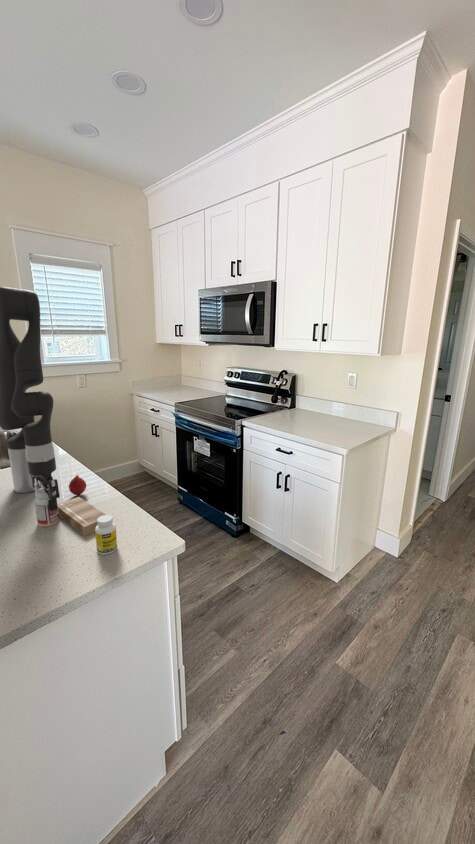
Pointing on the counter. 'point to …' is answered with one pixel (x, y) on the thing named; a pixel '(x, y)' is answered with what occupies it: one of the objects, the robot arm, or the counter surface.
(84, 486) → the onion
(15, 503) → the counter surface
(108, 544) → the supplement bottle
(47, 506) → the pill bottle
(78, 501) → the brown banded box
